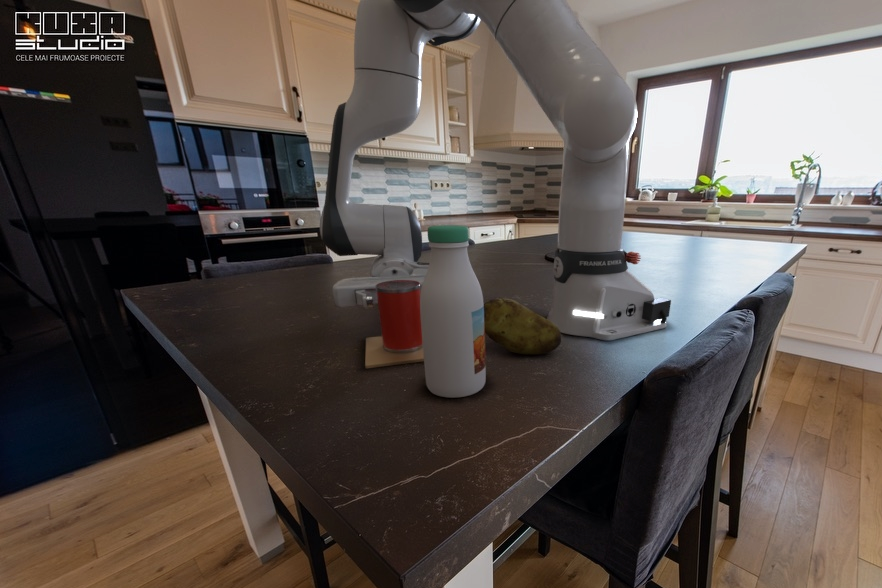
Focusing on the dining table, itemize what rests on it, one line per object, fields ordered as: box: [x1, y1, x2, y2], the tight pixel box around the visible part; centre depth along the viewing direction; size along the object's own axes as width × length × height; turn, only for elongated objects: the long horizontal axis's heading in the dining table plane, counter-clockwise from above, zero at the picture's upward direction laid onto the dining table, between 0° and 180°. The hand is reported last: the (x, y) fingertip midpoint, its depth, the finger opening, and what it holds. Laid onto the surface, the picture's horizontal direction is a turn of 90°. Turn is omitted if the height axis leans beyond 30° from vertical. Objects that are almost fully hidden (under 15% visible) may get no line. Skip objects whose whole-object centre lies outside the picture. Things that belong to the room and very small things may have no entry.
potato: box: [483, 297, 562, 356], centre depth 62 cm, size 8×13×8 cm, turn 54°
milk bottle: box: [420, 224, 487, 399], centre depth 48 cm, size 8×8×20 cm
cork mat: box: [364, 335, 424, 370], centre depth 63 cm, size 12×12×1 cm
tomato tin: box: [376, 280, 423, 353], centre depth 61 cm, size 6×6×10 cm
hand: (399, 300), depth 62 cm, fingers open, 8 cm apart
